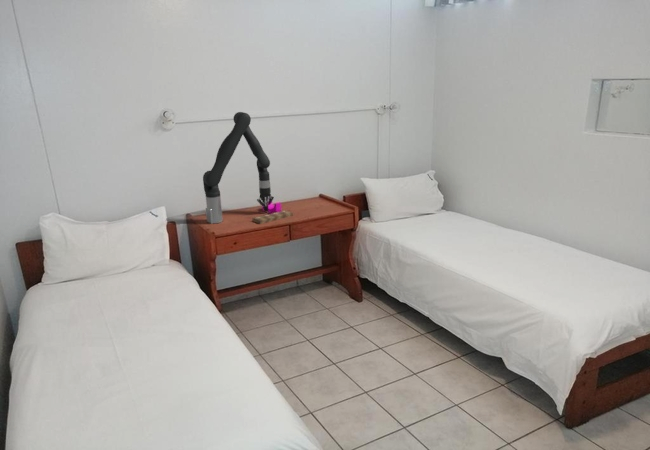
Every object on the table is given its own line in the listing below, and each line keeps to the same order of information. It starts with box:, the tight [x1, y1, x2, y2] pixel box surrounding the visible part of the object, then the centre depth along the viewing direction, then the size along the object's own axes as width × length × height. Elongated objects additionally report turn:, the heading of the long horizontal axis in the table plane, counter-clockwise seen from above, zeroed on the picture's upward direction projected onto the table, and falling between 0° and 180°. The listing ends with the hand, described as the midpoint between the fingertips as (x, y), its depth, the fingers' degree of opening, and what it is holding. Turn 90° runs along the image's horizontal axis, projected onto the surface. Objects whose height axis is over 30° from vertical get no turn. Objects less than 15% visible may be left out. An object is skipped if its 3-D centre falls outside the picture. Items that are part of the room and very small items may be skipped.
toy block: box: [261, 201, 282, 214], centre depth 324 cm, size 15×6×8 cm, turn 37°
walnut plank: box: [252, 209, 293, 225], centre depth 310 cm, size 26×9×2 cm, turn 131°
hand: (266, 211), depth 321 cm, fingers closed
